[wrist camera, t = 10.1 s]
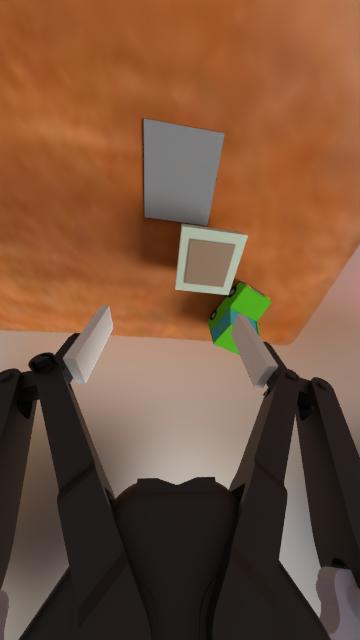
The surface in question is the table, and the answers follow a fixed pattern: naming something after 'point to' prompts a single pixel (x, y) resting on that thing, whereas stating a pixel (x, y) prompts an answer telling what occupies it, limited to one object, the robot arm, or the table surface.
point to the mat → (180, 171)
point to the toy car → (236, 303)
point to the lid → (208, 259)
